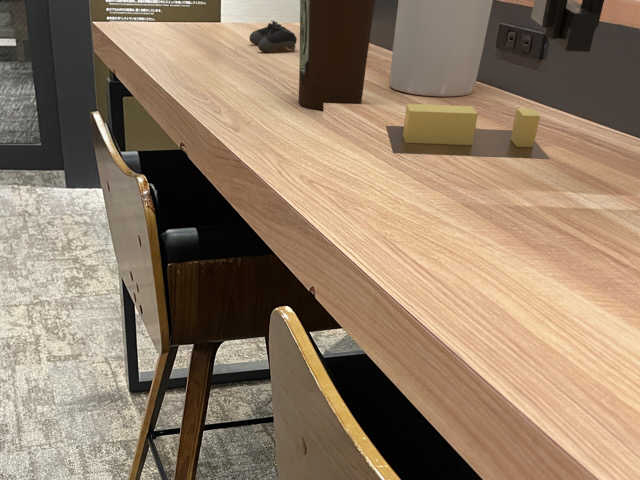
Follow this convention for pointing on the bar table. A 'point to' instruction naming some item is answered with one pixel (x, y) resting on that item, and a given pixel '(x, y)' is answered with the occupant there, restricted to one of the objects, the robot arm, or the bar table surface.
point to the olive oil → (333, 51)
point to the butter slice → (525, 127)
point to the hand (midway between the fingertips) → (567, 35)
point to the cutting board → (483, 145)
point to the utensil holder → (438, 46)
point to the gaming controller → (273, 38)
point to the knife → (571, 25)
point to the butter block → (439, 124)
